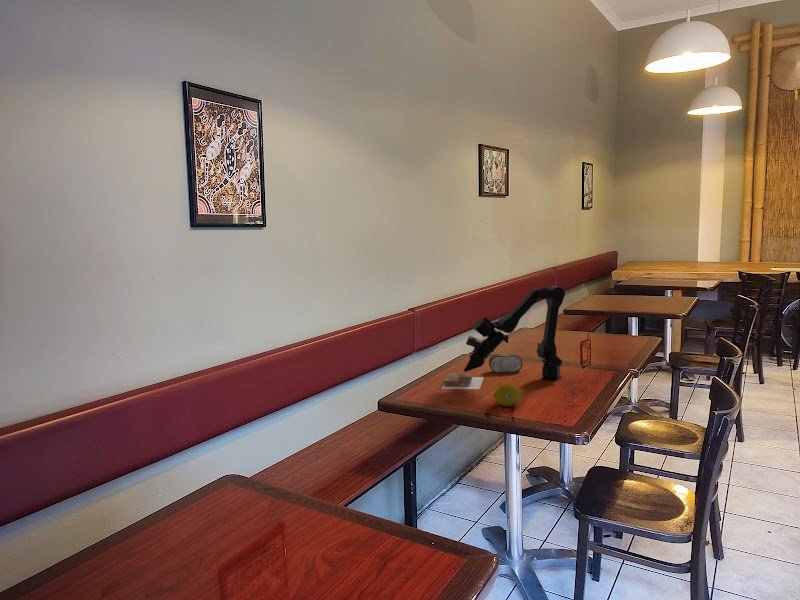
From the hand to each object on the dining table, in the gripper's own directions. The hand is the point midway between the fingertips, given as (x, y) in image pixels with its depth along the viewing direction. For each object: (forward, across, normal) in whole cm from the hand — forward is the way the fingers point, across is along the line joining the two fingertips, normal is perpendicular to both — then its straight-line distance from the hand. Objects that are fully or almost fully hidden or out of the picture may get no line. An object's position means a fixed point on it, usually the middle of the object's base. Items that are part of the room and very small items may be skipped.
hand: (465, 368), depth 245 cm
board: (+2, 0, +5) cm, 5 cm away
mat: (+6, 0, +4) cm, 7 cm away
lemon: (-9, +29, +19) cm, 35 cm away
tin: (-6, -20, +16) cm, 26 cm away
